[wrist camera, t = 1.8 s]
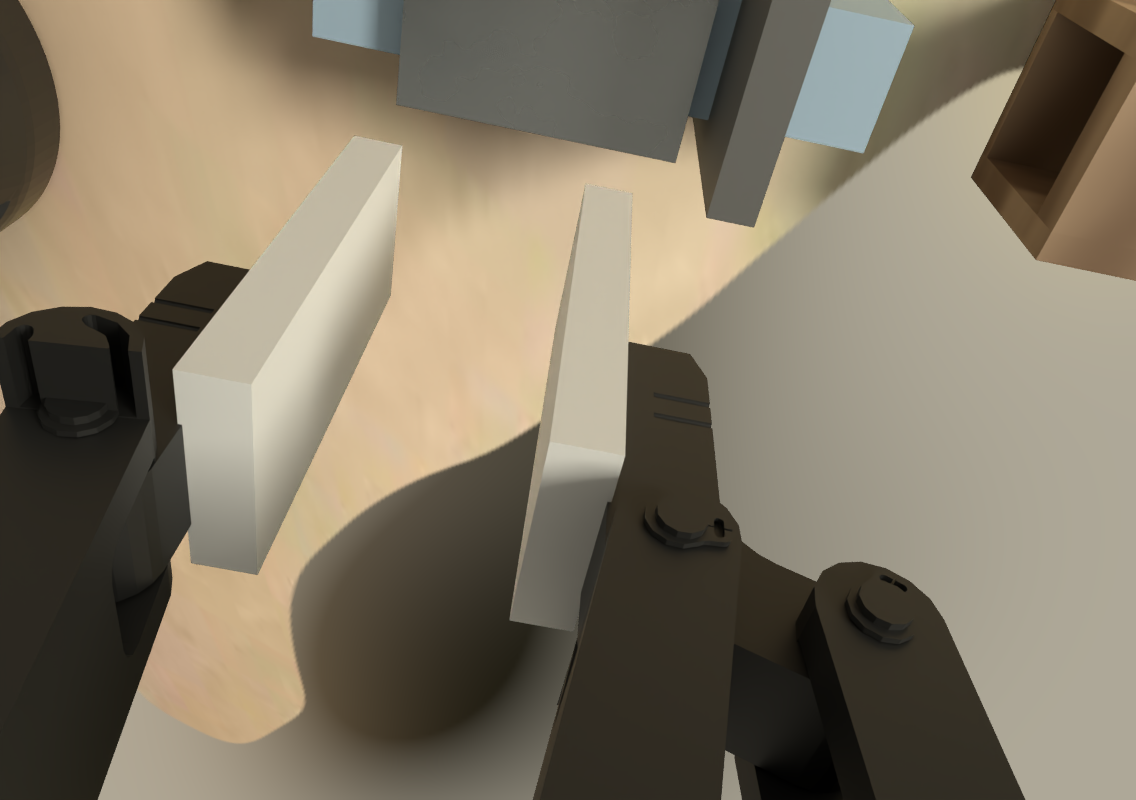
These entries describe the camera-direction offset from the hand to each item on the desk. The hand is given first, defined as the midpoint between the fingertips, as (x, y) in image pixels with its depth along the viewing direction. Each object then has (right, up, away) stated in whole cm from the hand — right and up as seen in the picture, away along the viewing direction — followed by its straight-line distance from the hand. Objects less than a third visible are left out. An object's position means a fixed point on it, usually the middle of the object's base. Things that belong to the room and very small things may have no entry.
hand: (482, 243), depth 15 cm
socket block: (+20, +8, +18) cm, 28 cm away
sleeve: (+1, +12, +17) cm, 21 cm away
